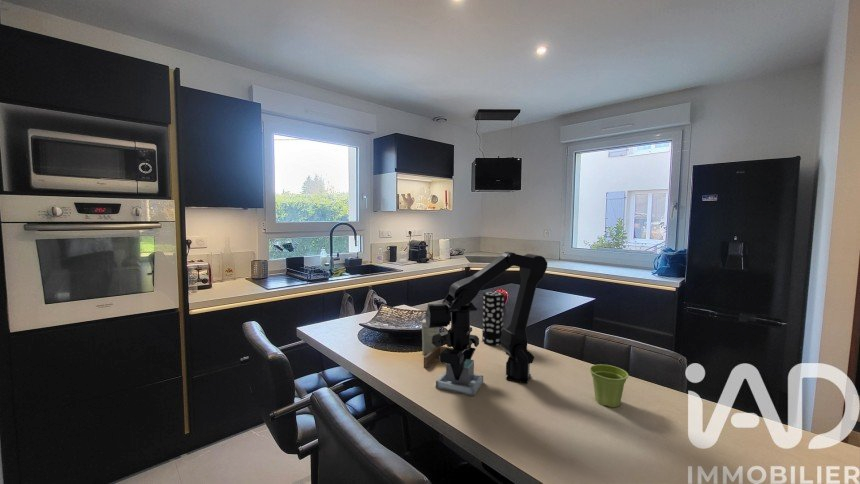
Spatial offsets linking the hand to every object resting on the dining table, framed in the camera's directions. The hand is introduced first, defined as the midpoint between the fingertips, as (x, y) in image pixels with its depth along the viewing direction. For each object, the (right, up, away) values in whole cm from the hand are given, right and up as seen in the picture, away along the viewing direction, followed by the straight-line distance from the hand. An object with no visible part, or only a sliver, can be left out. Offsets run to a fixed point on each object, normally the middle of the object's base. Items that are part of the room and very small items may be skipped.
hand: (460, 375), depth 106 cm
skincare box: (-9, -1, +26) cm, 27 cm away
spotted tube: (+16, -1, +37) cm, 41 cm away
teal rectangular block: (0, -1, 0) cm, 1 cm away
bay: (-4, -2, +16) cm, 16 cm away
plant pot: (+40, -4, -9) cm, 41 cm away
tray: (0, -3, 0) cm, 3 cm away
